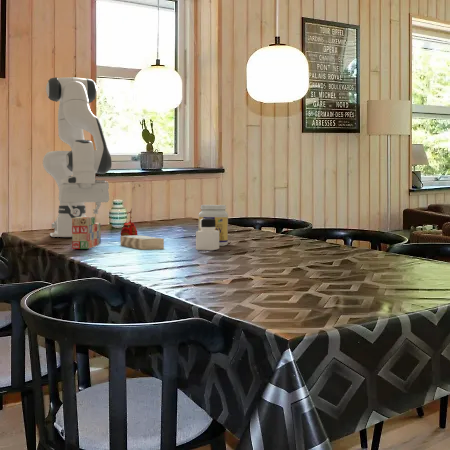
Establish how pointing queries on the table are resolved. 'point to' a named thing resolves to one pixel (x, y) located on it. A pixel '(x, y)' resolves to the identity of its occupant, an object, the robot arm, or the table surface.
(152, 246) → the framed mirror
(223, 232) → the supplement tub
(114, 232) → the table surface
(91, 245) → the stack of blocks
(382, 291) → the table surface
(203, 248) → the medicine bottle
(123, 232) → the red clay folk toy
